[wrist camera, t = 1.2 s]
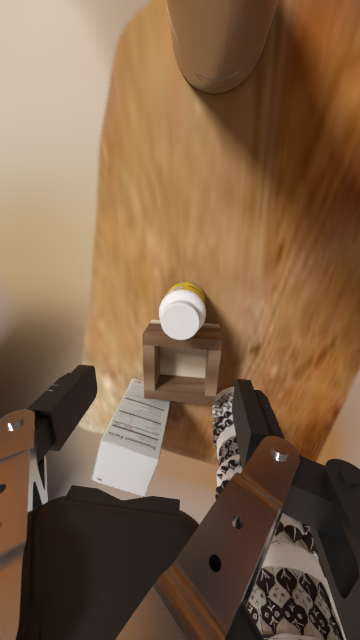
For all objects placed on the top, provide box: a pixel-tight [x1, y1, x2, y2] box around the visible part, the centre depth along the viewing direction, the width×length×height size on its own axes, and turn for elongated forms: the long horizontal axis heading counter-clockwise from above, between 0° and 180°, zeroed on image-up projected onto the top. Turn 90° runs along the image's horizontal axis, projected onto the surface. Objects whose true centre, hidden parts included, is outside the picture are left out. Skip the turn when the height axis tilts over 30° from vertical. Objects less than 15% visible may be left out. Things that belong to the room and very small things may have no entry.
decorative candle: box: [212, 386, 344, 640], centre depth 24 cm, size 9×9×25 cm
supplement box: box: [92, 378, 170, 496], centre depth 31 cm, size 7×7×13 cm
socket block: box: [143, 320, 222, 405], centre depth 31 cm, size 10×10×6 cm
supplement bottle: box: [159, 281, 206, 340], centre depth 26 cm, size 5×5×10 cm
